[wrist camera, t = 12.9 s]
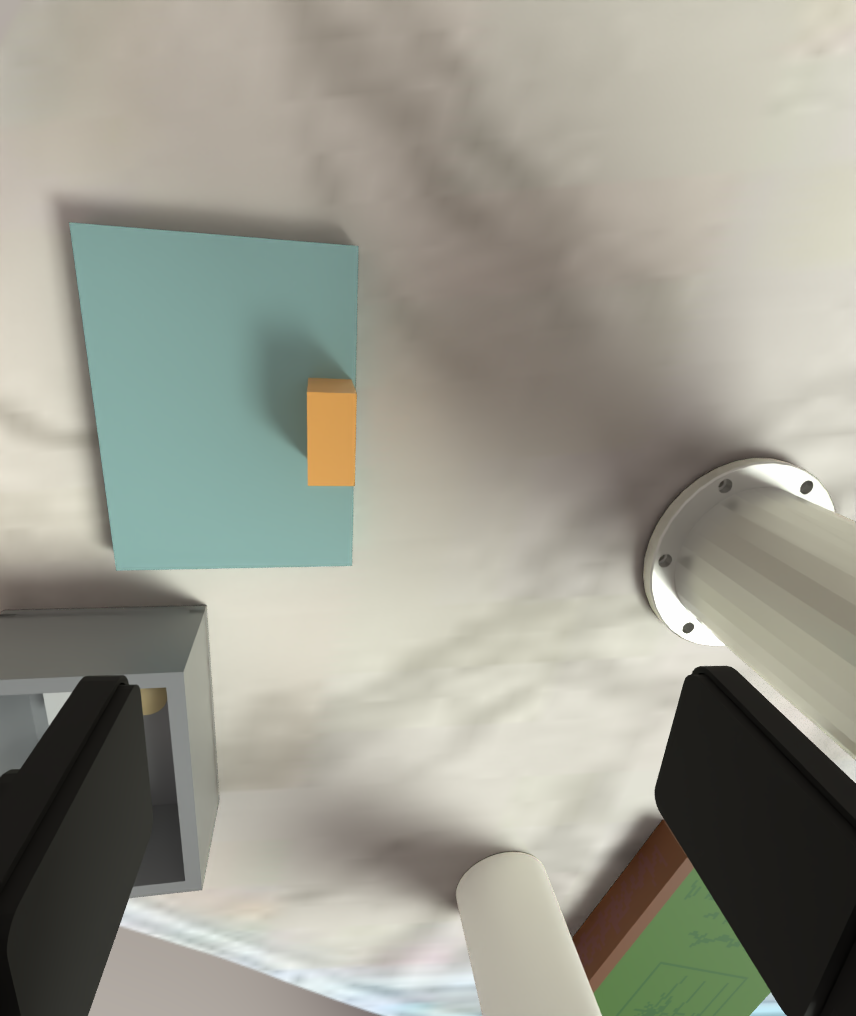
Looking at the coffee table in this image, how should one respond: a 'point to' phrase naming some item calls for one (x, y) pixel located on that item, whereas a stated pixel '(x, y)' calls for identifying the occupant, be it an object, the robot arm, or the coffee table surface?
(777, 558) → the robot arm
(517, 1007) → the cylindrical container
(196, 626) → the tub
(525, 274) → the coffee table surface
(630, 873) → the hardcover book
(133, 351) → the lid
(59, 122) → the coffee table surface
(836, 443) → the coffee table surface
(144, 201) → the coffee table surface
